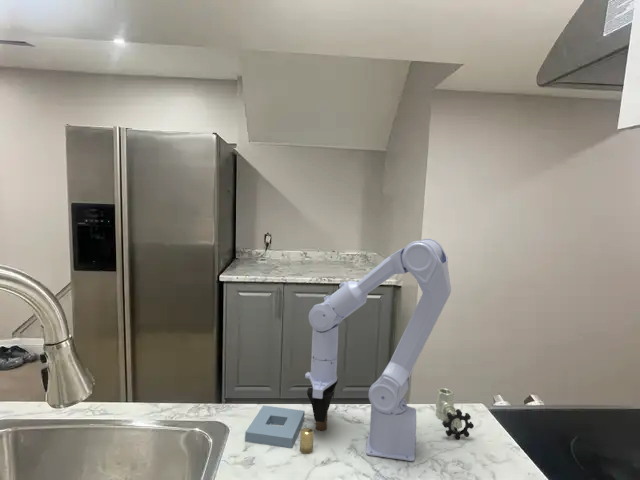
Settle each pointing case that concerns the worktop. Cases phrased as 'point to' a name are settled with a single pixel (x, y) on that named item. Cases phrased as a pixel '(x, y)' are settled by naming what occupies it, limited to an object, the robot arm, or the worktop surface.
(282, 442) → the hole plate
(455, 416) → the valve
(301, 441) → the brass pin
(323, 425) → the walnut pin
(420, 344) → the robot arm
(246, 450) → the worktop surface
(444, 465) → the worktop surface
